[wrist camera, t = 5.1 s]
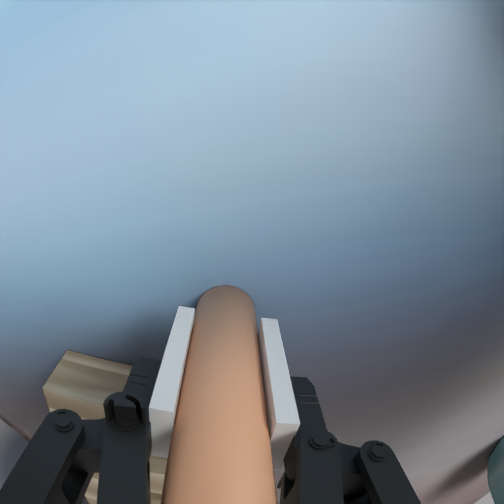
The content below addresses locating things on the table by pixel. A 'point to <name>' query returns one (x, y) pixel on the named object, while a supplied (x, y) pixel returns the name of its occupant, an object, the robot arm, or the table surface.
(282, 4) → the table surface
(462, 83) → the table surface
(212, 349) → the pin
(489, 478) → the flower pot
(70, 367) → the bore block
